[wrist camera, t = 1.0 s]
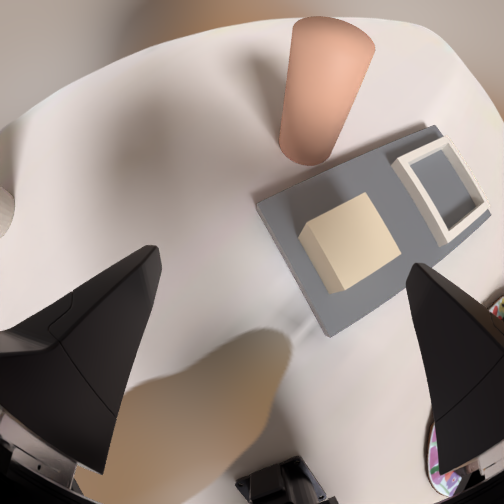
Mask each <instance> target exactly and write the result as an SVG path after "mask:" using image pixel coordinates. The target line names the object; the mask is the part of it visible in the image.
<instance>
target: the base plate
mask: <svg viewBox="0 0 504 504" xmlns="http://www.w3.org/2000/svg"><path fill="white" fill-rule="evenodd" d="M490 206H491V205H490V203H489V201H488V199H487V197H486V195H485V194H484V192H483V190H482V188H481V186H480V185H479V183H478V181H477V179H476V178H475V176H474V174H473V173H472V171H471V169H470V168H469V166H468V165H467V163H466V161H465V160H464V158H463V157H462V155H461V154H460V152H459V151H458V149H457V148H456V146H455V145H454V143H453V142H452V141H451V139H450V138H449V136H448V135H446V136H443V135H442V133H441V132H440V131H439V129H438V128H437V127H436V126H435V125H433V126H430V127H428V128H425V129H423V130H420V131H418V132H415V133H413V134H410V135H408V136H405V137H403V138H401V139H398V140H396V141H393V142H391V143H389V144H386V145H384V146H381V147H379V148H377V149H374V150H372V151H370V152H367V153H365V154H363V155H360V156H358V157H356V158H354V159H351V160H349V161H347V162H345V163H342V164H340V165H338V166H336V167H333V168H331V169H329V170H327V171H324V172H322V173H320V174H318V175H316V176H314V177H311V178H309V179H307V180H305V181H303V182H301V183H299V184H296V185H294V186H292V187H290V188H288V189H286V190H284V191H282V192H280V193H277V194H275V195H273V196H271V197H269V198H267V199H265V200H263V201H261V202H259V203H257V212H258V213H259V215H260V217H261V219H262V220H263V222H264V224H265V226H266V227H267V229H268V231H269V233H270V235H271V236H272V238H273V240H274V242H275V243H276V245H277V247H278V249H279V251H280V252H281V254H282V256H283V258H284V260H285V261H286V263H287V265H288V267H289V269H290V271H291V272H292V274H293V276H294V278H295V280H296V281H297V283H298V285H299V287H300V289H301V291H302V293H303V294H304V296H305V298H306V300H307V302H308V304H309V305H310V307H311V309H312V311H313V313H314V315H315V317H316V319H317V320H318V322H319V324H320V326H321V328H322V330H323V332H324V334H325V336H327V337H330V338H331V337H332V336H334V335H336V334H337V333H339V332H341V331H342V330H344V329H345V328H347V327H349V326H350V325H352V324H353V323H355V322H356V321H358V320H360V319H361V318H363V317H364V316H366V315H367V314H369V313H370V312H372V311H373V310H375V309H376V308H378V307H379V306H380V305H382V304H383V303H385V302H386V301H388V300H389V299H391V298H392V297H393V296H395V295H396V294H398V293H399V292H400V291H402V290H403V289H404V288H406V280H407V277H408V275H409V272H410V270H411V268H412V265H413V264H414V263H425V264H426V265H428V266H429V267H431V268H432V267H433V266H434V265H436V264H437V263H438V262H439V261H441V260H442V259H443V258H444V257H445V256H447V255H448V254H449V253H450V252H451V251H453V250H454V249H455V248H456V247H457V246H458V245H460V244H461V243H462V242H463V241H464V240H465V239H466V238H468V237H469V236H470V235H471V234H472V233H473V232H474V231H475V230H476V229H477V228H479V227H480V226H481V225H482V224H483V223H484V222H485V221H486V220H487V219H488V218H489V217H490V216H491V214H490V212H489V210H488V208H489V207H490Z"/></svg>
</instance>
